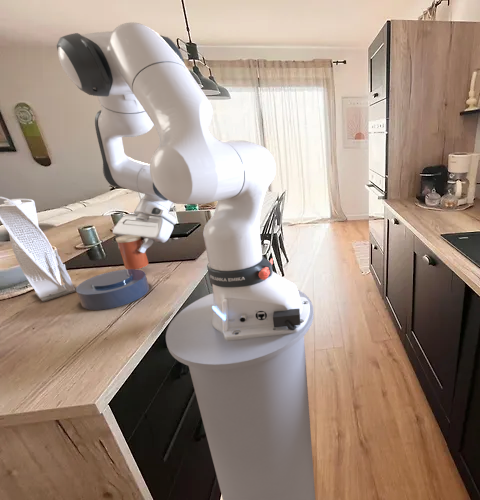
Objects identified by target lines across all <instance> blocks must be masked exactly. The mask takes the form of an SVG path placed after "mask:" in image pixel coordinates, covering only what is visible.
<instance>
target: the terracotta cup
mask: <svg viewBox="0 0 480 500" xmlns="http://www.w3.org/2000/svg"><path fill="white" fill-rule="evenodd" d="M115 242H116V243H117V246H118V247H119V249H118V250H119V253H120V256H121V260H122V263H123V266H124V270H125V269H138V270H140V269H142V268H145V267H147V266H148V265H149V264H150V263H149V262H150V261H149V259H148V256H147V250H146V251H145V253H139V252H137V249H138V246H141V245H142V244H143V243H144V240H142V237H141V236H135V235H123V236H119V237H118V236H116V237H115ZM118 247H117V248H118Z"/></svg>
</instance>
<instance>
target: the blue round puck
mask: <svg viewBox="0 0 480 500" xmlns="http://www.w3.org/2000/svg"><path fill="white" fill-rule="evenodd" d="M75 289H76V291H75V293H76V294H77V298H78V299H79V302H80V305H81V307H82V308H83V309H85V310H89V311H90V310H91V311H100V310H101V311H102V310H109V309H110V310H111V309H114V308H119V307H121V306H125V305H128V304H130V303H133V302H135V301H137V300H139V299H140V298H142V297H144V296H145V295H146V294H147V293H148V292H149V290H150V285H149V282H148V278H147V273H146V272H145V271H144V270H142V269H125V268H124V269H118V270H114V271H113V270H112V271H109V272H104V273H100V274H98V275H95V276H92V277H90V278H88V279H86V280H84V281H82V282H80V283H79V284H78V285H77V286H76V288H75Z"/></svg>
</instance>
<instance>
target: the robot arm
mask: <svg viewBox="0 0 480 500" xmlns="http://www.w3.org/2000/svg"><path fill="white" fill-rule="evenodd" d="M56 50H57V56H58V60H59V63H60V66H61V68H62V70H63V71H64V74H65V75H66V76H67V77H68V78H69V80H70V81H71V82H72V83H73V84H74V85H75V86H76V88H78V89H79V90H80V91H82V92H84V93H86V94H87V95H89V96H93V97H97V100H98V102H99V104H100V110H98V111H97V113H96V114H95V117H94V126H95V127H94V129H95V134H96V137H97V142H98V147H99V150H100V155H101V160H102V174H103V177H104V179H105V181H106V182H107V183H108V184H109V186H112V187H114V188H119V189H124V190H129V191H132V192H136V193H139V194H143V195H144V196H143V197H142V198H141V199H140V201H138V204H137V205H136V207H135V208H134V211H130V212H129V213H127V214H125V215H122V216H121V218H120V219H119V220H118V222H117V223H116V224H115V225H114V227H113V228H112V234H113V235H114V236H116V237H119V236H123V235H135V236H141V237H142V241H143V244H142V245H141V246H138V249H137V252H139V253H145V251H146V252H147V249H148V248H150V247H151V246H152V245H153V244H154V243H162V244H164V243H166V242H167V241H168V240H169V239H170V237H171V235H172V233H173V230H174V226H175V225H176V224H177V222H178V219H177V218H176V217H174V216H173V215H172V214H170V210H171V207H172V205H173V204H177V205H206V204H210V203H214V202H216V206H215V210H214V211H213V212H214V213H213V214H212V216H211V217H210V218H209V220H208V221H207V222H206V223H205V225H204V228H203V233H202V234H203V236H202V237H203V240H204V245H205V251H206V256H207V262H208V263H207V265H206V267H207V274H208V275H207V276H208V279H209V283H210V286H211V287H212V293H213V300H214V306H213V318H212V325H213V327H214V328H215V329H216V330H218V331H220V332H221V333H222V334H223V336H224V338H225V340H227V341H233V340H241V339H249V338H258V337H266V336H275V335H283V334H291V333H296V332H298V331H300V330H301V329H302V328H303V327H304V326H305V324H306V323H307V321H308V318H309V315H310V304H309V301H308V300H307V299H306V298H305V297H300V296H299V292H298V290H299V289H298V287H297V284H295V283H294V282H292V281H291V280H288V279H287V278H285V277H283V276H281V275H280V274H278V273H276V272H275V271H273V270H274V269H273V264H274V262H273V261H274V260H273V258H270V260H268V259H267V258H265V257H264V255H263V251H262V242H261V241H262V240H261V228H260V227H261V225H260V223H261V214H262V210H263V204H264V201H265V197H266V193H267V191H268V189H269V187H270V185H271V184H272V182H273V181H274V179H275V176H276V172H277V166H276V160H275V158H274V156H273V155H272V153H271V152H270V150H269V149H268V148H267V147H265V146H263V145H261V144H258V143H255V142H251V141H247V140H221V139H218V138H216V137H215V136H214V135H213V134H212V133H211V132H210V130H209V127H210V125H211V123H212V120H213V113H214V109H213V106H212V103H211V102H210V100H209V98H208V97H207V95H206V94H205V92H204V91H203V89H202V88H201V86H200V85H199V84H198V82H197V80H196V78H194V76H193V75H192V73H191V72H190V70H189V68H187V66H186V63H185V59H184V57H183V54H182V52H181V51H180V49H179V47H178V46H177V44H176V43H175V42H174V41H173V40H172V39H171V38H169V37H168V36H166V35H163V34H159V33H158V32H156V30H154V29H153V28H152V27H149V26H147V25H145V24H143V23H140V22H135V21H133V22H132V21H131V22H130V21H129V22H125V23H124V22H123V23H122V24H120V25H119V24H118V26H116V27H115V28H114V29H113V30H112V31H98V32H90V33H89V32H88V33H84V34H83V33H82V34H80V33H78V32H74V33H69V34H66V35H63V36H60V37H59V38H58V41H57V43H56ZM153 128H155V129H156V132H157V134H158V141H159V144H158V146H157V148H156V149H155V151H154V152H153V153H152V156H151V159H150V162H149V163H146V162H142V161H140V160H138V159H134V158H132V157H130V156H128V155H127V154H126V153H125V147H124V143H123V138H136V137H140V136H143V135H146V134H147V133H148V132H150V131H151V130H152V129H153ZM117 249H118V250H119V247H117Z"/></svg>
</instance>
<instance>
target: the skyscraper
mask: <svg viewBox="0 0 480 500" xmlns="http://www.w3.org/2000/svg"><path fill="white" fill-rule="evenodd" d="M0 200H3V203H2V204H0V222H1V224H2V225H3V227H4V229H6V231H7V232H8V236H9V241H10V245H11V249H12V251H13V254H14V257H15V259H16V262H17V263H18V265H19V267H20V269H21V271H22V273H23V275H24V277H25V278H26V280H27V281H28V283H29V284H30V285H31V287H32V288H33V290H34V294H35V296H36V297H37V298H38V299H40V300H41V301H42V302H43V303H44V302H48V301H50V300H54V299H57V298H60V297H63V296H66V295H69V294H72V293H76V288H75V286H74V284H73V282H72V278H71V277H70V274H69V273H68V271H67V268H66V264H65V263H63V261H62V259H61V256H60V255H59V254H58V252H57V250H56V249H54V248H53V246H52V244H51V243H50V240H49V239H48V237H47V235H46V234H45V233H44V232H43V230H42V229H41V227H40V226H39V219H38V214H37V207H36V203H35V200H33V199H31V198H11V199H10V198H7V197H4V196H0ZM61 279H62V280H61ZM62 282H63V284H62Z"/></svg>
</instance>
